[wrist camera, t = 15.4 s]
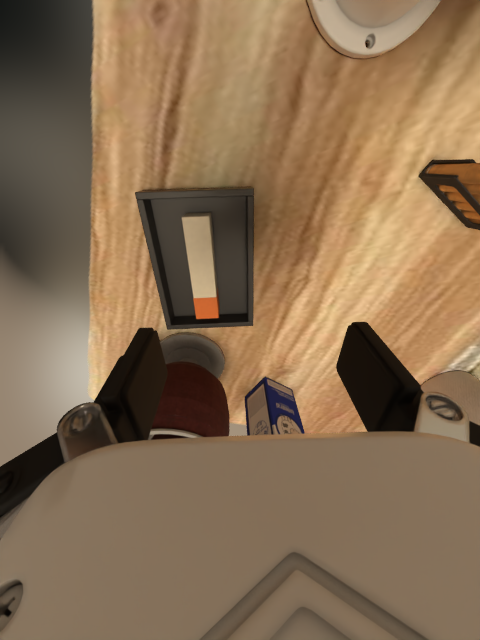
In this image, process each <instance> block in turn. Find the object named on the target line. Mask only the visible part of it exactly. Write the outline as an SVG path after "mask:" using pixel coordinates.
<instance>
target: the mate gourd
mask: <svg viewBox="0 0 480 640" xmlns="http://www.w3.org/2000/svg"><path fill="white" fill-rule="evenodd" d="M160 344H161V348H162V352H163V356H164V359H165V363H166V367H167V379H166V382H165V385H164V389H163V392H162V395H161V399H160V402H159V405H158V408H157V412H156V415H155V418H154V422H153V425H152V428H151V431H150V435H149V438H148V440H158V439H176V438H198V437H223V436H229V410H228V404H227V398H226V394H225V391H224V388H223V386H222V384H221V382H220V381H219V380H218V378H219V377H220V375H221V374H222V372H223V369H224V364H225V360H224V355H223V352H222V350H221V349H220V347H219V346H218V345H217V344H216V343H215V342H214V341H212V340H211V339H209V338H208V337H205V336H203V335H200V334H196V333H188V332H184V333H177V334H173V335H170V336H168V337H166V338H164V339H163V340H162V341H160Z"/></svg>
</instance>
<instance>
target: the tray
mask: <svg viewBox="0 0 480 640" xmlns="http://www.w3.org/2000/svg"><path fill="white" fill-rule="evenodd" d="M135 195H136V199H137V204H138V208H139V212H140V216H141V220H142V225H143V229H144V233H145V237H146V242H147V246H148V250H149V254H150V258H151V263H152V267H153V271H154V275H155V280H156V284H157V288H158V292H159V296H160V301H161V305H162V309H163V313H164V318H165V322H166V325H167V329H190V328H213V327H235V326H253V248H254V196H253V195H254V189H253V188H252V187H228V188H198V189H168V190H143V191H139V192H135ZM203 212H211V218H212V229H213V241H214V253H215V264H216V276H217V288H218V295H219V318H210V319H196V314H195V307H194V300H193V298H194V297H193V290H192V284H191V277H190V270H189V264H188V257H187V250H186V243H185V237H184V230H183V223H182V217H183V216H184V215H185V214H186V213H203Z"/></svg>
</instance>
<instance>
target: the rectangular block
mask: <svg viewBox="0 0 480 640" xmlns="http://www.w3.org/2000/svg"><path fill="white" fill-rule="evenodd" d="M182 223H183V230H184V237H185V243H186V250H187V257H188V264H189V270H190V277H191V284H192V290H193V297H194V298H193V300H194V307H195V314H196V319H210V318H219V295H218V288H217V276H216V264H215V253H214V241H213V229H212V218H211V212H203V213H186V214H185V215H184V216H183V217H182Z"/></svg>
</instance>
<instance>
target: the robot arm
mask: <svg viewBox="0 0 480 640" xmlns="http://www.w3.org/2000/svg"><path fill="white" fill-rule="evenodd" d="M440 1H441V0H307V2H308V5H309V8H310V11H311V14H312V17H313V20H314V22H315V24H316V26H317V28H318V29H319V31H320V33H321V35H322V36H323V37H324V39H325V40H326V41H327V42H328V43H329V44H330V46H331V47H333V48H334V49H336V50H337V51H338V52H340V53H341V54H344V55H347V56H349V57H352V58H371V57H375V56H379V55H382V54H384V53H386V52H388V51H390V50H392V49H394V48H395V47H396V46H398V45H399V44H401V43H402V42H404V41H405V40H406V39H407V38H409V37H410V36H411V35H412V34H413V33H414V32H415V31H417V30H418V29H419V28H420V27H421V26H422V24H423V23H424V22H425V21H426V20H427V19H428V17H429V16H430V15H431V14H432V13H433V11H434V10H435V9H436V7H437V6H438V4H439V3H440ZM365 42H367V44H368V47H367V48H366V46H365ZM336 368H337V372H338V374H339V376H340V378H341V380H342V382H343V384H344V386H345V388H346V390H347V392H348V394H349V396H350V398H351V400H352V402H353V404H354V406H355V408H356V410H357V412H358V414H359V416H360V418H361V420H362V422H363V424H364V426H365V427H366V429H367V431H368V432H341V433H307V434H277V435H249V436H223V437H198V438H176V439H158V440H148V438H149V435H150V431H151V428H152V425H153V422H154V418H155V415H156V412H157V408H158V405H159V402H160V399H161V395H162V392H163V389H164V385H165V382H166V379H167V367H166V363H165V359H164V356H163V352H162V348H161V344H160V340H159V336H158V333H157V331H154V330H153V328H139V329H138V331H137V333H136V334H135V336H134V338H133V340H132V342H131V343H130V345H129V347H128V349H127V350H126V352H125V354H124V355H123V356H121V357H120V358H119V359H118V361H117V363H116V365H115V366H114V368H113V370H112V371H111V373H110V375H109V377H108V378H107V380H106V382H105V384H104V385H103V387H102V389H101V390H100V392H99V394H98V396H97V397H96V399H95V401H94V403H90V402H89V403H84V404H81V405H78V406H76V407H74V408H73V409H71V410H70V411H68V412H67V413H66V414H65V415H64V416H63V417H62V418H61V420H60V421H59V423H58V426H57V433H55V434H54V435H52V436H50V437H48V438H47V439H45V440H44V441H42V442H40V443H39V444H37V445H35V446H34V447H32V448H31V449H29V450H27V451H25V452H24V453H22V454H20V455H19V456H17V457H15V458H14V459H12V460H11V461H9V462H7V463H6V464H4V465H2V466H1V467H0V640H480V425H478V424H476V423H473V422H471V421H469V416H468V413H467V411H466V410H465V408H464V407H463V406H462V405H461V404H460V403H459V402H457V401H456V400H454V399H453V398H451V397H449V396H447V395H445V394H442V393H439V392H432V391H431V392H425V393H424V392H423V391H422V389H421V386H420V384H419V383H418V382H417V381H416V380H415V378H414V377H413V376H412V375H411V374H410V373H409V371H408V370H407V369H406V368H405V367H404V366H403V364H402V363H401V362H400V361H399V360H398V358H397V357H396V356H395V355H394V354H393V353H392V351H391V350H390V349H389V348H388V347H387V345H386V344H385V343H384V342H383V341H382V340H381V338H380V337H379V336H378V335H377V334H376V333H375V331H374V330H373V329H372V328H371V327H370V325H369V324H368V323H367V322H353V323H352V324H351V325H349V326H348V328H347V332H346V335H345V338H344V342H343V345H342V348H341V352H340V355H339V358H338V362H337V366H336Z"/></svg>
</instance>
